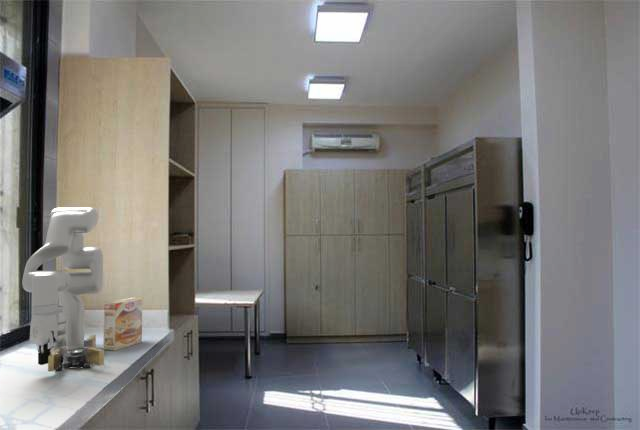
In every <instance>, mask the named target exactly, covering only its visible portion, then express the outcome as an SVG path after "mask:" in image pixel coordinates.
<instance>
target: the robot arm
mask: <svg viewBox="0 0 640 430" xmlns="http://www.w3.org/2000/svg"><path fill="white" fill-rule="evenodd" d="M97 211H98V210H97V209H96V208H94V207H80V206H79V207H73V206H71V207H68V206H66V207H55V208H53V209H52V210H51V212H50V220H49V224H48V227H47V228H48V229H47V234H46V238H45V242H44V245H43V246H41V247H40V248H39V249H37V250H36V251H35V252H34V253H32V255H31V256H30V257H29V258H28V260H27V261H26V264H25V267H24V270H23V276H22V281H21V284H22V288H23V289H24V291H26V292H28V293H31V311H30V312H31V319H30V325H29V326H30V329H29V341H30V342H31V343H32V344H34V345H36V347H37V355H38V356H37V364H38V365H40V366H44V365H48V356H49V355H50V354H51V348H54V343H56V342H57V334H58V333H57V317H56V313H58V306H63V307H64V308H63V310H64V311H63V313H64V314H65V316H66V317H67V326H66V345H67V350H68V351H75V350H79V349H83V347H84V340H85V313H86V312H85V310H86V309H85V302H84V301H83V299H82V297H80V295H95V294H99V293H101V292H102V290H103V288H104V256H103V252H102V250H101V249H100V248H99V247H97V246H84V244H85V243H84V241H85V240H84V238H85V237H84V234H87V233H88V234H89V233H91V232H92V230H93V229H94V228H95V227H96V226H97V224H98V223H99V213H98V212H97ZM58 257H60V264H61V266H62V268H63V269H65V270H60V269H58V270H57V269H56V270H55V269H54V270H53V269H52V270H38V269H39V267H40V266H42V265H43V264H44V263H46V262H48V261H51V260H53V259H55V258H58ZM66 270H90V271H87V272H86V271H84V272H82V271H79V272H77V271H76V272H67V271H66Z"/></svg>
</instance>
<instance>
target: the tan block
mask: <svg viewBox="0 0 640 430" xmlns="http://www.w3.org/2000/svg"><path fill="white" fill-rule="evenodd" d="M82 350H83V356H82V362H83V368H84V369H83V368H82V369H83V370H88V368H89V369H91V365H95V366H98V367H101V366H104V365H105V349H101V348H96V347H95V348H93V347H91V346H85V347H83V348H82Z"/></svg>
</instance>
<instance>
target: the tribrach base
mask: <svg viewBox="0 0 640 430" xmlns="http://www.w3.org/2000/svg"><path fill="white" fill-rule="evenodd" d="M82 356H83V349H82V348H80V349H74V350H71V351H68V352H67V353H65V354H63V363H62V370H67V368H68V369H71V368H70V367H77V368H80V367H83V362H82ZM64 362H65V363H64Z"/></svg>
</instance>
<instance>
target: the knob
mask: <svg viewBox="0 0 640 430" xmlns="http://www.w3.org/2000/svg"><path fill="white" fill-rule="evenodd" d="M96 336H97V334H90V335H89V336H88V337H87V338H86V339H84V347H85V346H91V347H93V348H96V346H97V344H96V340H97V339H96Z"/></svg>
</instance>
